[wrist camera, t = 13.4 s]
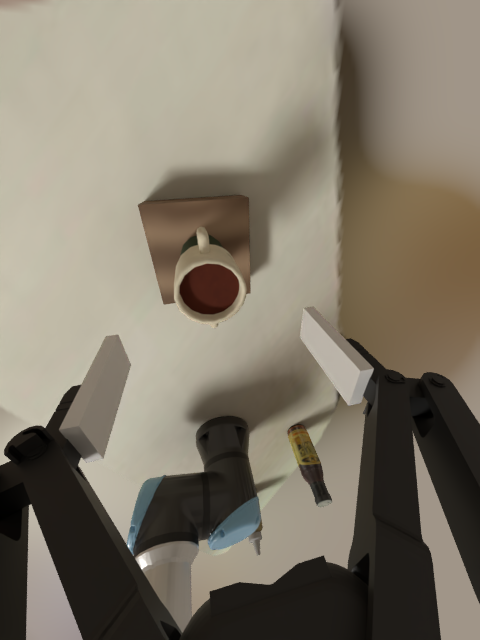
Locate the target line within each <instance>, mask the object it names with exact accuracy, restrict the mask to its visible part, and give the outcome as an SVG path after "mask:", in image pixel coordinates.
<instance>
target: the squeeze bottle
mask: <svg viewBox="0 0 480 640" xmlns="http://www.w3.org/2000/svg"><path fill="white" fill-rule="evenodd" d="M258 503H259V501H258ZM259 509H260V506H259ZM260 514H261V513H260ZM261 530H262V520H261V521H260V525H259V526H258V528H257V529H256V530H255V531H254V532H253V533H252V534H251V535H250V536H248V537H249V542H250V543H253V546H254V549H255V551H256V554H257V555H260V540H261V539H262V536H261V532H260V531H261Z"/></svg>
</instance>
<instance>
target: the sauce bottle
mask: <svg viewBox="0 0 480 640" xmlns="http://www.w3.org/2000/svg"><path fill="white" fill-rule="evenodd" d="M288 438H289V441H290V444H291V446H292V449H293V452H294V455H295V458H296V460H297V463H298V466H299V468H300V471H301V474H302V476H303V478H304V479H305V480H306V481H307V482H308V484H309V485H310V487H311V489H312V492H313V494H314V497H315V502H316V504H317V506H318V507H324V506H327V505H329V504H331V503H332V499H331V496H330V494H329V493H328V491H327V488H326V486H325V483H324V480H323V470H322V466H321V462H320V460H319V458H318V455H317V453H316V451H315V449H314V446H313V444H312V441H311V439H310V437H309V434H308V432H307V430H306V429H305V427H304V426H303V425H296V426H292V427H291V428H290V429H289V430H288Z"/></svg>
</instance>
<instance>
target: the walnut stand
mask: <svg viewBox="0 0 480 640" xmlns="http://www.w3.org/2000/svg"><path fill="white" fill-rule="evenodd" d="M138 207H139V211H140V215H141V219H142V223H143V227H144V230H145V234H146V238H147V242H148V246H149V250H150V254H151V257H152V261H153V265H154V269H155V273H156V277H157V281H158V284H159V288H160V292H161V296H162V300H163V304H171V303H176V302H175V300H174V279H175V270H176V265H177V263H178V261H179V259H180V256H181V255H180V254H181V250H182V247H183V244H184V243H185V242H186V241H187V240H188V239H189V238H190V237H193V236H196V235H197V233H196V232H197V228H199V227H204V228H205V229H206V231H207V233H208V235H211V236H212V237H214V238H215V239H217V240H218V241H219V242H220V243H221V245H222V247H223V248H224V249H225V250H227V251H228V252H229V253H230V254H231V256H232V257H233V259H234V260H235V263H236V265H237V266H238V267H239V270H240V272H241V274H242V276H243V278H244V281H245V283H246V289H247V292H246V294H248V293H250V245H249V198H248V197H245V196H242V195H234V196H218V197H203V198H187V199H172V200H156V201H144V202H142V203H140V204H139V205H138Z"/></svg>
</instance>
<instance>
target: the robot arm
mask: <svg viewBox="0 0 480 640" xmlns="http://www.w3.org/2000/svg"><path fill="white" fill-rule="evenodd" d="M300 338H301V340H302V341H303V342H304V344H305V345H306V347H307V348H308V349H309V351H310V352H311V354H312V355H313V356H314V358H315V359H316V361H317V362H318V364H319V365H320V366H321V368H322V369H323V371H324V372H325V373H326V375H327V376H328V378H329V379H330V380H331V382H332V383H333V385H334V386H335V387H336V389H337V390H338V392H339V393H340V394H341V396H342V397H343V399H344V400H345V401H346V403H347V404H348V406H349V405H354V404H358V403H361V401H362V398H363V396H364V397H365V399H366V400H367V401H368V403H367V405H366V407H365V410H364V412H363V414H365V413H366V414H365V424H364V434H363V446H362V455H361V465H360V477H359V486H358V496H357V506H356V517H355V527H354V536H353V542H352V546H351V550H350V554H349V560H348V569H346V568H344V567H341V566H339V565H337V564H333V563H328V562H326V560H325V558H324V556H321V557H318V558H314V559H312V560H308V561H305V562H302V563H299V564H297V565H295V566H294V567H293V568H292V569H291V570H289V571H288V572H287V573H286V574H284V575H283V576H282V577H281V578H279V579H278V580H277V581H276V582H275V583H274V584H271V585H264V584H253V583H241V582H239V583H236V584H232V585H229V586H226V587H223V588H220V589H217V590H213V591H210V599H209V600H208V601H206V602H205V603H204V604H203V605H202V606H201V607H200V608H199V609H198V610H197V612H196V613H195V614H194V615H193V617H192V611H191V610H192V605H191V564H192V563H193V561H194V559H195V557H196V556H197V554H198V552H199V542H198V541H200V540H205V539H208V545H209V547H210V549H212V550H216V549H223V548H226V547H229V546H231V545H234V544H236V543H238V542H240V541H242V540H243V539H245V538H247V537H248V536H250V535H251V534H252V533H253V532H254V531H255V530H256V529H257V528H258V526H259V525H260V521H261V514H260V509H259V503H258V501H259V499H258V497H257V493H256V488H255V484H254V480H253V475H252V471H251V467H250V463H249V458H248V447H249V430H248V426H247V423H246V422H245V421H244V420H242V419H240V418H237V417H220V418H216V419H213V420H211V421H208V422H207V423H205V424H204V425H202V426H201V427H200V428H199V430H198V431H197V433H196V445H197V449H198V451H199V454H200V456H201V459H202V461H203V464H204V472H201V473H190V474H180V475H170V476H166V475H163V476H162V477H156V478H150V479H148V480H146V481H145V482H144V484H143V485H142V487H141V489H140V492H139V494H138V498H137V501H136V504H135V508H134V512H133V516H132V520H131V527H130V531H129V535H128V540H127V545H126V543H125V542H124V540H123V538H122V536H121V535H120V533H119V531H118V530H117V528H116V526H115V525H114V523H113V522H112V520H111V518H110V517H109V515H108V513H107V512H106V510H105V508H104V507H103V505H102V503H101V502H100V500H99V498H98V497H97V495H96V494H95V492H94V490H93V489H92V487H91V485H90V484H89V482H88V481H87V479H86V477H85V475H84V474H83V472H82V470H81V469H80V467H78V463H79V461H80V458H81V457H82V458H83V460H84V461H85V462H86V463H87V462H92V461H96V460H101V459H103V458H104V454H105V451H106V448H107V444H108V441H109V437H110V434H111V431H112V427H113V424H114V421H115V417H116V414H117V410H118V407H119V404H120V400H121V397H122V393H123V390H124V387H125V383H126V380H127V376H128V373H129V370H130V366H131V364H130V362H129V359H128V357H127V354H126V352H125V350H124V347H123V345H122V342H121V340H120V338H119V335H112V336H106V337H105V339H104V341H103V343H102V345H101V347H100V349H99V351H98V353H97V355H96V357H95V359H94V361H93V363H92V365H91V367H90V369H89V371H88V373H87V375H86V377H85V379H84V381H83V383H82V385H77V386H72V387H71V388H70V389H69V390H68V391H67V392H66V393H65V394H64V396H63V398H62V400H61V401H60V405H58V407H57V408H56V412H54V414H53V416H52V417H51V419H50V421H49V423H48V424H47V426H46V428H44V427H42V426H33V427H29V428H27V429H25V430H23V431H21V432H20V433H18V434H17V435H16V436H14V437H13V438H12V439H11V441H9V442H8V444H7V446H6V448H5V449H4V455H5V456H7V457H8V458H9V459H10V460H11V461H10V462H7V463H5V464H3V465H1V466H0V640H26V608H27V562H28V517H29V505H30V504H32V506H33V509H34V512H35V515H36V517H37V520H38V523H39V525H40V528H41V530H42V533H43V536H44V538H45V541H46V544H47V546H48V549H49V552H50V554H51V557H52V559H53V562H54V564H55V567H56V570H57V573H58V575H59V578H60V580H61V583H62V586H63V588H64V591H65V593H66V596H67V599H68V601H69V604H70V606H71V609H72V612H73V615H74V617H75V620H76V622H77V625H78V628H79V630H80V633H81V635H82V638H83V640H441V636H440V628H439V618H438V609H437V599H436V590H435V581H434V573H433V563H432V557H431V553H430V550H429V548H428V546H427V545H426V544H425V543H424V542H423V539H422V535H421V525H420V514H419V502H418V490H417V479H416V467H415V456H414V445H413V433H414V436H415V438H416V441H417V443H418V446H419V449H420V451H421V454H422V457H423V459H424V462H425V464H426V467H427V469H428V472H429V475H430V477H431V480H432V483H433V485H434V488H435V490H436V493H437V496H438V498H439V501H440V503H441V506H442V509H443V511H444V514H445V516H446V519H447V521H448V524H449V527H450V529H451V532H452V535H453V537H454V540H455V542H456V545H457V547H458V550H459V552H460V555H461V558H462V560H463V563H464V566H465V568H466V571H467V573H468V576H469V579H470V581H471V584H472V586H473V589H474V591H475V594H476V596H477V599H478V601H479V603H480V424H479V423H478V421H477V420H476V418H475V416H474V415H473V414H472V412H471V410H470V409H469V408H468V406H467V404H466V403H465V401H464V400H463V398H462V397H461V395H460V394H459V392H458V391H457V389H456V388H455V386H454V385H453V383H452V382H451V381H450V380H449V379H447V378H446V377H444V376H442V375H439V374H437V373H432V372H427V373H424V374H423V376H422V377H421V379H415V378H405V377H404V376H403V375H402V374H400V373H399V372H396V371H393V370H388V369H385V368H384V367H383V366H382V365H381V364H380V363H379V362H378V361H377V360H376V359H375V358H374V357H373V356H372V355H371V354H369V353H368V351H366V349H364V347H363V346H361V345H360V344H359V343H358V342H356V341H354V340H353V339H345V338H344V337H343V336H342V335H341V334H340V333H339V332H338V331H337V330H336V329H335V328H334V327H333V326H332V325H331V324H330V323H329V322H328V321H327V320H326V319H325V318H324V317H323V316H322V315H321V314H320V313H319V312H318V311H317V310H316V309H315V308H314V307H307V308H304V309H303V317H302V324H301V332H300ZM412 431H413V433H412ZM133 554H134V556H133Z"/></svg>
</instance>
